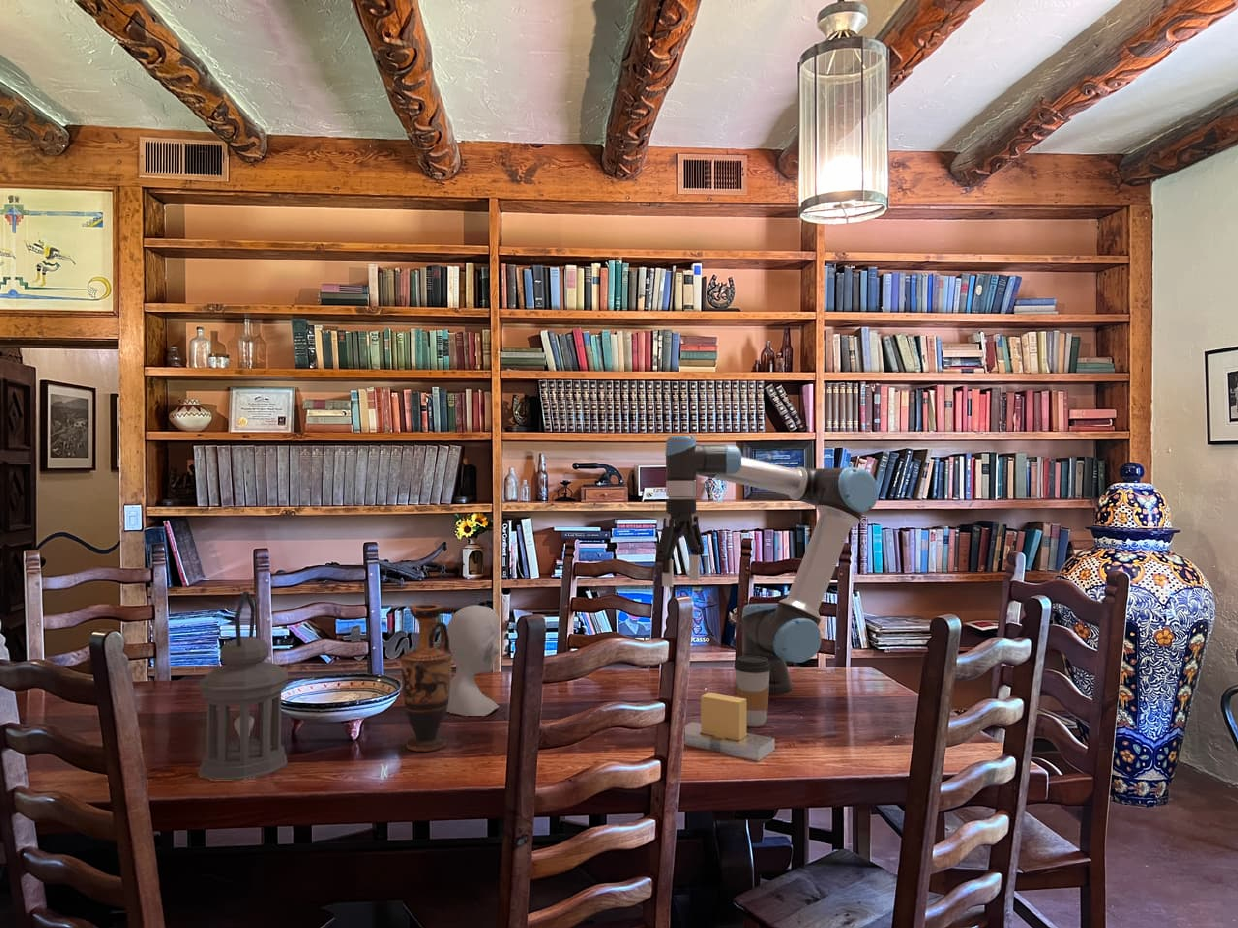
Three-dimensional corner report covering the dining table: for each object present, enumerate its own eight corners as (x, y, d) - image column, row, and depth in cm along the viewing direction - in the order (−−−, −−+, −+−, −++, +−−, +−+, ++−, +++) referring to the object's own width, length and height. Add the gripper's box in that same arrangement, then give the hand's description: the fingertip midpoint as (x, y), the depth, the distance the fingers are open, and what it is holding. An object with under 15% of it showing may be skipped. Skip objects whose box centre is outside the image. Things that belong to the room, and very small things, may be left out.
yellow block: (701, 743, 173) (701, 695, 174) (709, 738, 176) (709, 692, 177) (739, 751, 168) (739, 702, 168) (746, 746, 171) (746, 698, 171)
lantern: (284, 776, 155) (285, 595, 155) (187, 786, 150) (189, 599, 151) (293, 748, 171) (294, 584, 171) (206, 756, 166) (208, 587, 167)
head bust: (529, 701, 207) (529, 604, 208) (478, 720, 191) (478, 615, 191) (467, 689, 219) (467, 597, 219) (414, 706, 203) (414, 607, 203)
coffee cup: (770, 729, 184) (770, 663, 184) (733, 726, 186) (733, 662, 186) (770, 718, 192) (770, 655, 193) (735, 716, 194) (735, 654, 194)
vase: (406, 757, 165) (407, 612, 166) (395, 742, 175) (396, 604, 175) (458, 749, 170) (458, 608, 171) (444, 735, 180) (445, 601, 180)
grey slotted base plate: (674, 742, 175) (674, 731, 175) (692, 733, 181) (691, 721, 181) (758, 760, 163) (758, 748, 163) (774, 749, 170) (774, 738, 170)
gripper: (691, 496, 212) (692, 576, 212) (641, 499, 191) (642, 587, 191) (717, 497, 208) (717, 578, 208) (669, 499, 187) (669, 590, 187)
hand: (681, 583), depth 199 cm, fingers open, 13 cm apart
